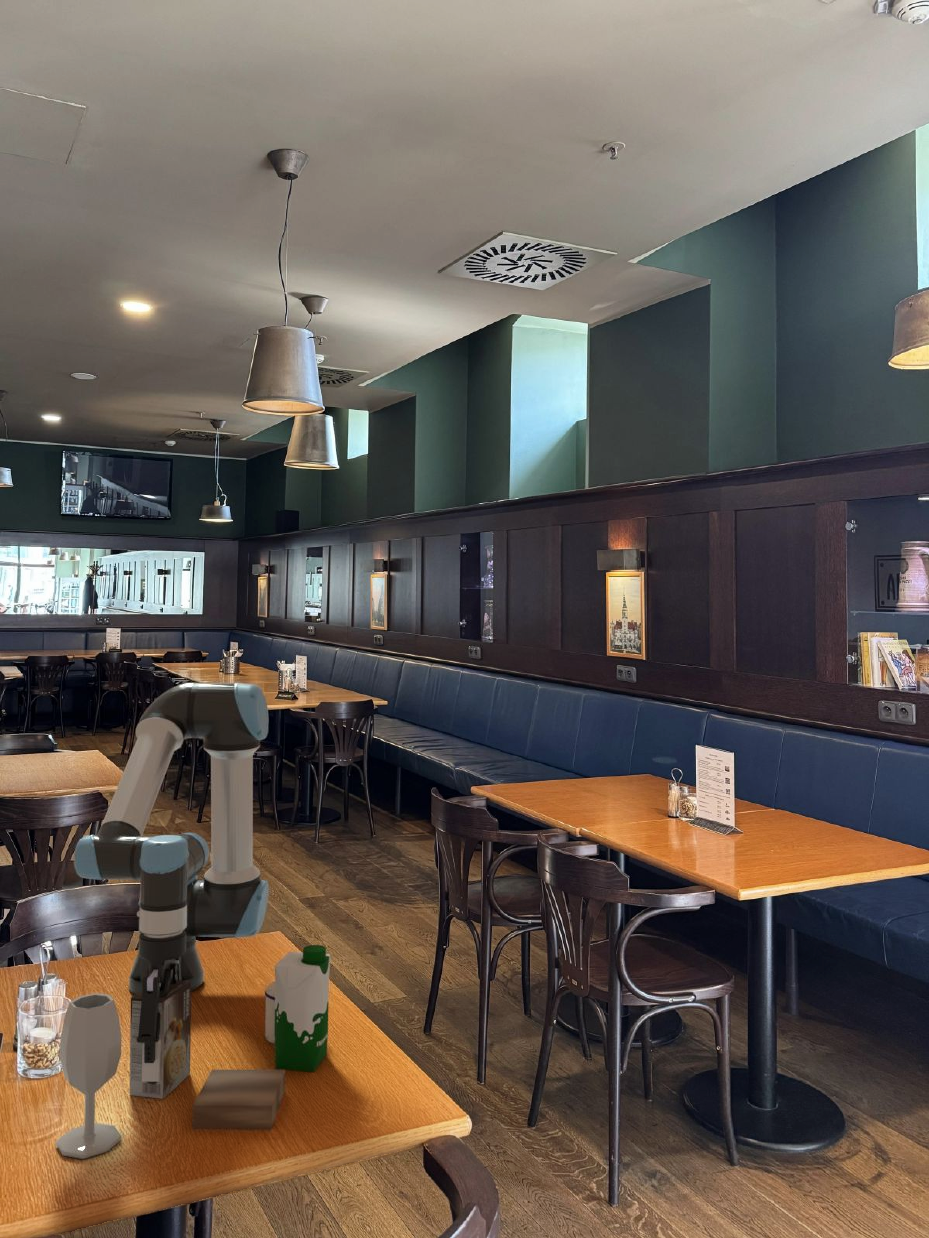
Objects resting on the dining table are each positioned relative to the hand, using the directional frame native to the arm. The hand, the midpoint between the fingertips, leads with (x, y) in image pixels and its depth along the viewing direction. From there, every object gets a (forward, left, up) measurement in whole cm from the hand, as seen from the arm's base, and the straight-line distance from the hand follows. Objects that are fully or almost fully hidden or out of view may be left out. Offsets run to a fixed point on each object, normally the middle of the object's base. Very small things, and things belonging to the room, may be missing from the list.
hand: (160, 1065), depth 160 cm
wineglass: (+18, -5, -3) cm, 19 cm away
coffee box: (0, 0, -3) cm, 3 cm away
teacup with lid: (-21, +18, -3) cm, 28 cm away
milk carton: (-9, +22, -3) cm, 24 cm away
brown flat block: (+8, +15, -4) cm, 17 cm away
